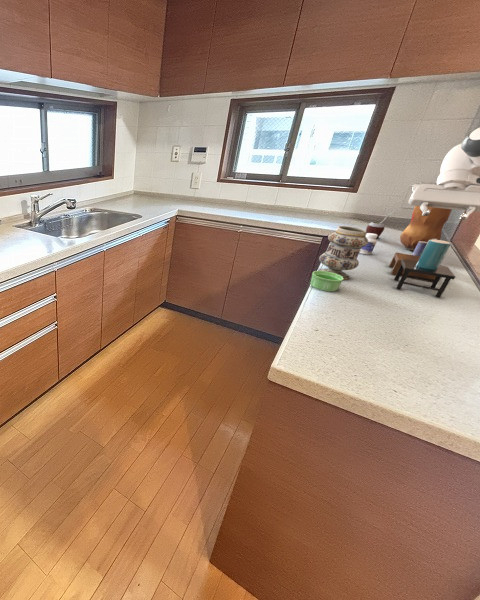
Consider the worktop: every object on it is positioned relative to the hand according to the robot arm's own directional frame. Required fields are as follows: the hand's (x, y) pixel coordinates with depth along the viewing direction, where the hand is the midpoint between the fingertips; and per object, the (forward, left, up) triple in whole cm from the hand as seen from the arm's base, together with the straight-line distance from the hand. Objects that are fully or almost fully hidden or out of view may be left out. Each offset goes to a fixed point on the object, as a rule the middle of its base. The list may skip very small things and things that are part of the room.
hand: (444, 216), depth 112 cm
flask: (-6, -28, -23) cm, 37 cm away
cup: (0, +11, -15) cm, 19 cm away
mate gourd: (+10, -66, -23) cm, 70 cm away
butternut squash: (-5, -50, -23) cm, 55 cm away
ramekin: (+26, +32, -24) cm, 47 cm away
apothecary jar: (+24, +15, -23) cm, 37 cm away
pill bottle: (+14, -29, -23) cm, 40 cm away
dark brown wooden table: (0, +11, -23) cm, 26 cm away
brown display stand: (0, -7, -23) cm, 24 cm away
